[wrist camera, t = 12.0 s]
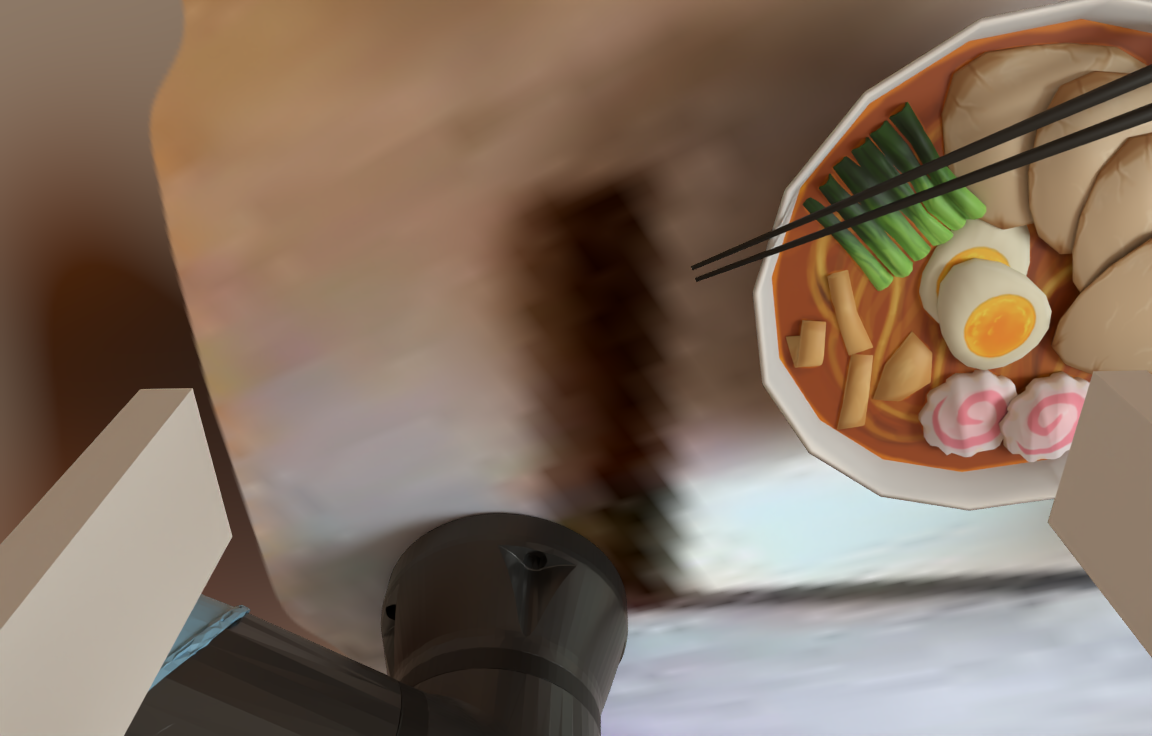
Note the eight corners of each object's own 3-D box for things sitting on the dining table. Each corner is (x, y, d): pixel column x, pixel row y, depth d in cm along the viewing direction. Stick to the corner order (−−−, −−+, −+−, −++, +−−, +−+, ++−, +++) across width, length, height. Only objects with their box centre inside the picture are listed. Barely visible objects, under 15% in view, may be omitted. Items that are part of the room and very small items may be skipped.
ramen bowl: (780, 483, 49) (812, 584, 42) (638, 110, 39) (649, 161, 32) (1248, 335, 44) (1375, 421, 37) (1227, -139, 34) (1397, -145, 27)
